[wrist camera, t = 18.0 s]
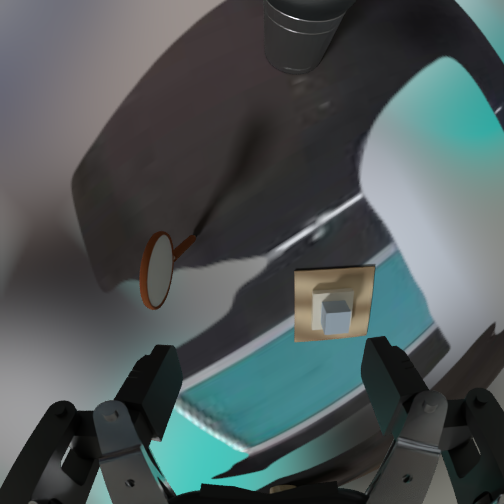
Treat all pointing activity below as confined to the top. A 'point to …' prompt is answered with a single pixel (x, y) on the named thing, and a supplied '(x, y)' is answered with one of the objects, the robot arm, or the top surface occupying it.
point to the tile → (328, 295)
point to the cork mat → (326, 280)
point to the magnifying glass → (159, 268)
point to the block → (335, 317)
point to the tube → (281, 488)
